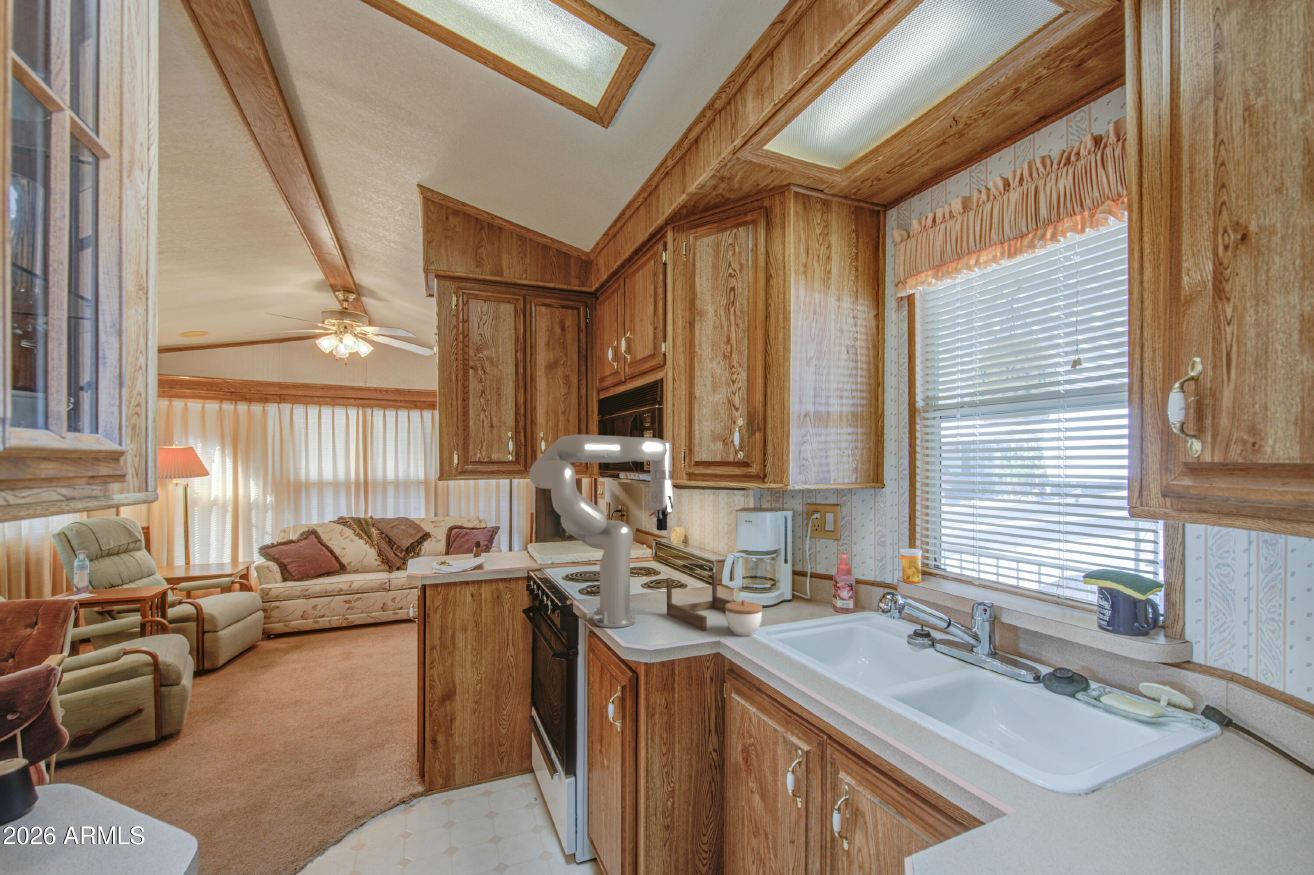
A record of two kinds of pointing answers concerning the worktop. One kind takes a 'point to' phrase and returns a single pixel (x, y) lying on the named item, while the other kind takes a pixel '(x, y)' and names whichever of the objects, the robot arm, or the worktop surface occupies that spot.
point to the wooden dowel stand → (695, 606)
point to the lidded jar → (743, 617)
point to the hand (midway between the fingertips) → (661, 530)
